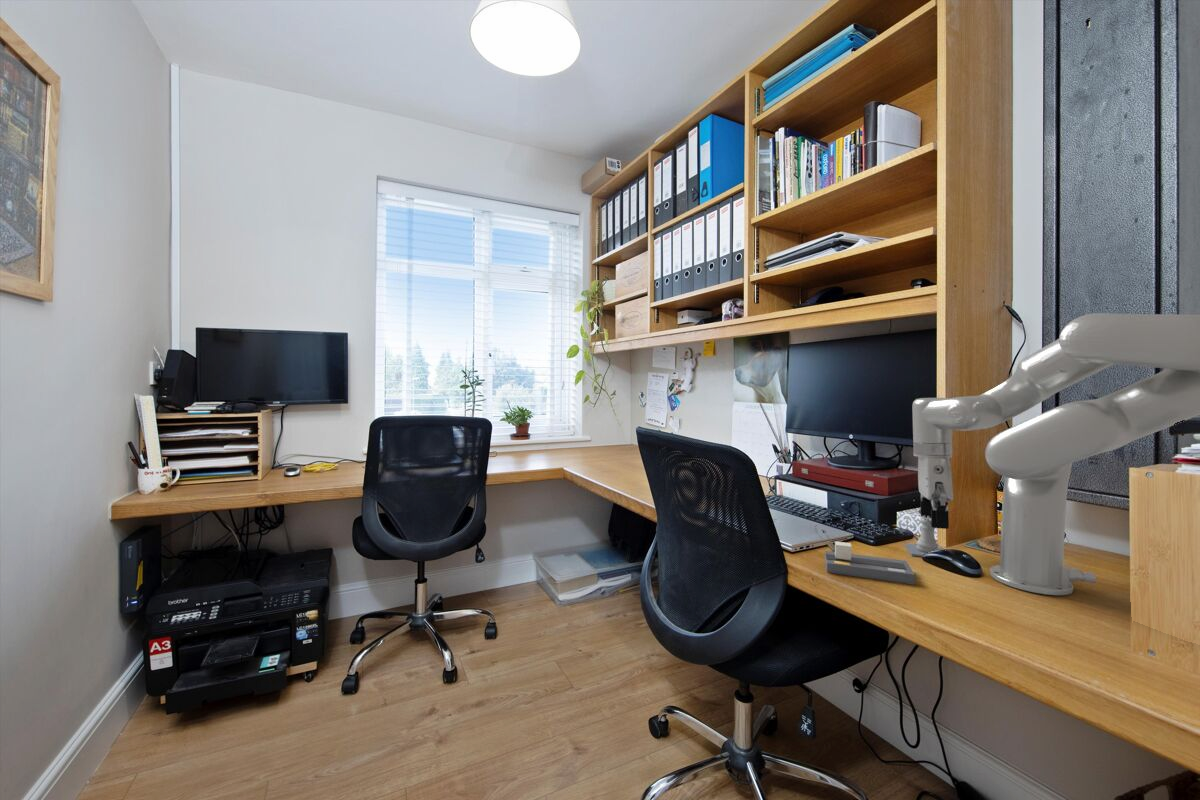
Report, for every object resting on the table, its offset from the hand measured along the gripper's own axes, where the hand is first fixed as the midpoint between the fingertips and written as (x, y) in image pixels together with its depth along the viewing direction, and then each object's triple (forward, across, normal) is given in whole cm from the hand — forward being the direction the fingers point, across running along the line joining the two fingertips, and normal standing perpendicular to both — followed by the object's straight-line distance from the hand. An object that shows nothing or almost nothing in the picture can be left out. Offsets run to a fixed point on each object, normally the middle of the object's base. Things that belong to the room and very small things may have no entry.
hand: (934, 522), depth 113 cm
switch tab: (+5, -17, +21) cm, 27 cm away
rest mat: (+7, +1, +1) cm, 8 cm away
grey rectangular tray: (+7, -17, +16) cm, 25 cm away
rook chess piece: (+7, +1, +1) cm, 7 cm away
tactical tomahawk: (+7, +1, +22) cm, 23 cm away
